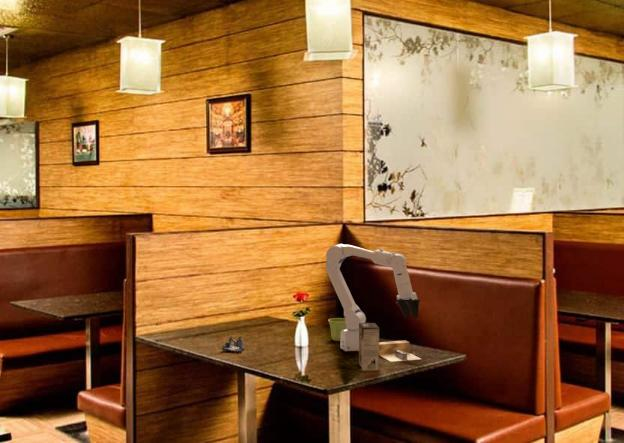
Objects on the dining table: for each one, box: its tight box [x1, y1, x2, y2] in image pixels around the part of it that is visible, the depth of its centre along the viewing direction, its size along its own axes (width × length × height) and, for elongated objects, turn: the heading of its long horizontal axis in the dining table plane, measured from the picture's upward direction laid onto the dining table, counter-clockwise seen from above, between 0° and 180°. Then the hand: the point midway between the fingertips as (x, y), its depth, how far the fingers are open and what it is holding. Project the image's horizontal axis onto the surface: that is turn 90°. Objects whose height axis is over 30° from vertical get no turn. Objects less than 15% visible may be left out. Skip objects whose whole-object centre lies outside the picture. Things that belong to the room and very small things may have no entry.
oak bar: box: [379, 339, 410, 356], centre depth 322 cm, size 14×4×4 cm, turn 109°
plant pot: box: [327, 317, 347, 342], centre depth 350 cm, size 9×9×9 cm
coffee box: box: [358, 322, 380, 372], centre depth 300 cm, size 9×6×16 cm
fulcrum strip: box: [395, 350, 407, 360], centre depth 313 cm, size 2×7×2 cm, turn 19°
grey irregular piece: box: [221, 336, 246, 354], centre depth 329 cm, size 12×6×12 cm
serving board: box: [379, 352, 422, 363], centre depth 316 cm, size 13×16×1 cm
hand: (411, 317), depth 320 cm, fingers open, 7 cm apart
